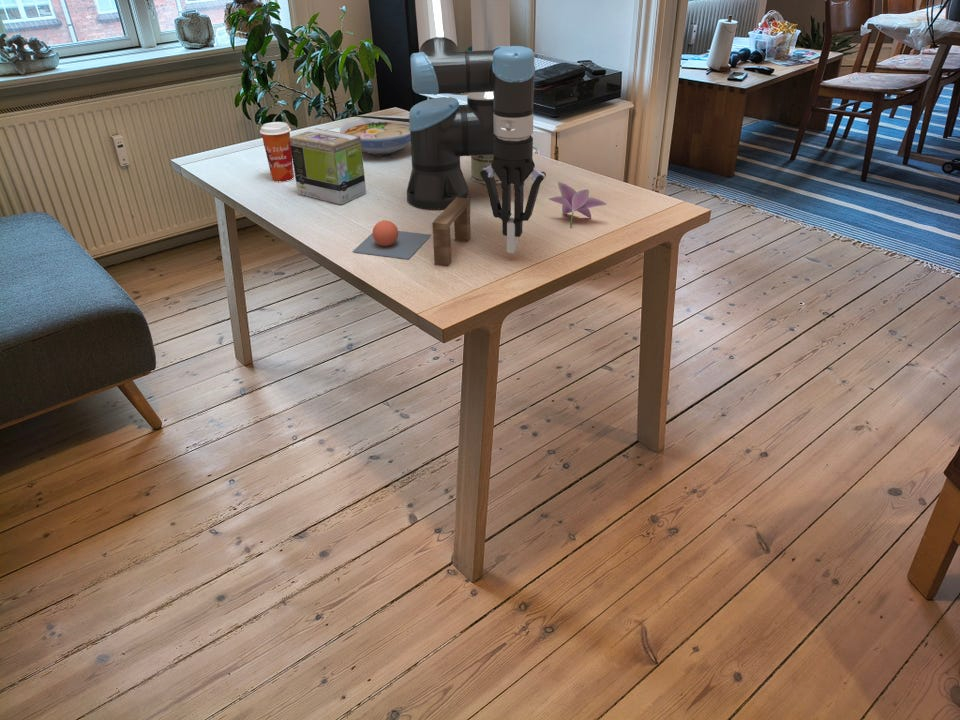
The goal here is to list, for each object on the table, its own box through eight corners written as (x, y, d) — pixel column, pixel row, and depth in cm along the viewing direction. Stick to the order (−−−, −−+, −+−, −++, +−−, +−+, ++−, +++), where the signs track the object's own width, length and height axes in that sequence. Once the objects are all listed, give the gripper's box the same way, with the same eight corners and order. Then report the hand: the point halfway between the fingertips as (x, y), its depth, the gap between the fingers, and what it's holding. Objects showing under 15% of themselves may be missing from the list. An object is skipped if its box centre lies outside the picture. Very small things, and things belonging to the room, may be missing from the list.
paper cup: (265, 183, 196) (256, 130, 189) (271, 174, 203) (262, 121, 195) (295, 183, 197) (287, 129, 189) (300, 173, 203) (292, 120, 195)
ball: (380, 213, 162) (404, 221, 162) (376, 235, 165) (399, 244, 165) (370, 221, 157) (394, 230, 157) (366, 244, 160) (389, 253, 160)
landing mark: (377, 229, 170) (377, 228, 170) (431, 235, 166) (431, 234, 166) (352, 252, 160) (352, 251, 159) (408, 259, 156) (408, 258, 156)
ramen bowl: (323, 159, 213) (319, 130, 209) (364, 136, 231) (361, 109, 226) (401, 168, 205) (399, 138, 200) (437, 145, 222) (436, 117, 218)
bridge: (434, 264, 154) (432, 222, 149) (457, 237, 165) (456, 197, 160) (448, 266, 153) (446, 224, 148) (470, 238, 165) (469, 198, 160)
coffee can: (469, 171, 202) (469, 118, 194) (508, 170, 202) (508, 117, 194) (471, 185, 193) (470, 130, 185) (511, 184, 193) (512, 129, 186)
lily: (610, 231, 170) (613, 188, 169) (577, 224, 161) (580, 179, 161) (569, 233, 178) (572, 192, 178) (535, 227, 170) (538, 184, 169)
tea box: (367, 193, 189) (361, 134, 181) (340, 206, 182) (333, 145, 174) (324, 183, 196) (316, 126, 188) (296, 194, 189) (287, 136, 181)
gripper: (474, 138, 141) (476, 253, 154) (541, 143, 137) (538, 261, 150) (486, 127, 147) (487, 239, 160) (551, 132, 143) (547, 246, 156)
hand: (512, 249), depth 155 cm, fingers closed
